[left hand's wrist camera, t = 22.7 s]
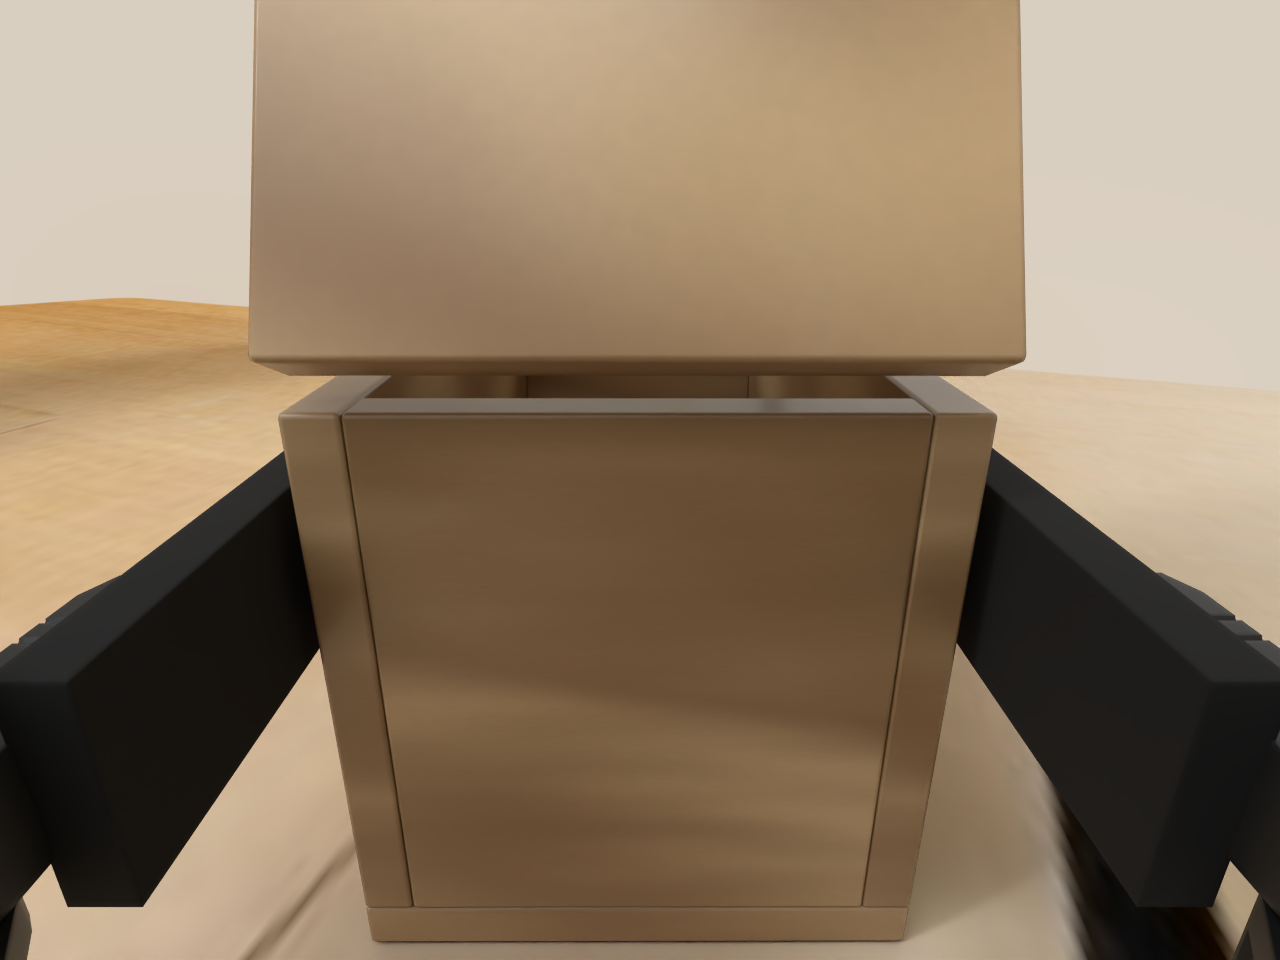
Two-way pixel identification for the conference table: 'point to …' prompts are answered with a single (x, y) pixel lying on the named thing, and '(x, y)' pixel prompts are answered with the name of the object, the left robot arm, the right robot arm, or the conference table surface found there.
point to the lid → (637, 188)
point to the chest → (637, 645)
